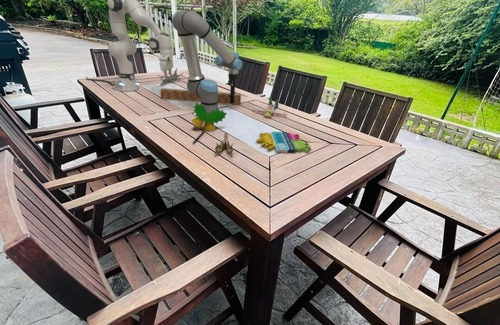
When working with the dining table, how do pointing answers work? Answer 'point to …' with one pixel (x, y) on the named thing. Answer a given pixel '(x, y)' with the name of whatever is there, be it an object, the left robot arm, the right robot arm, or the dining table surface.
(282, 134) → the sign
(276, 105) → the toy
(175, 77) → the airplane
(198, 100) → the beam
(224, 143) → the jawbone
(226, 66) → the right robot arm
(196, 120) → the ornament
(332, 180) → the dining table surface
